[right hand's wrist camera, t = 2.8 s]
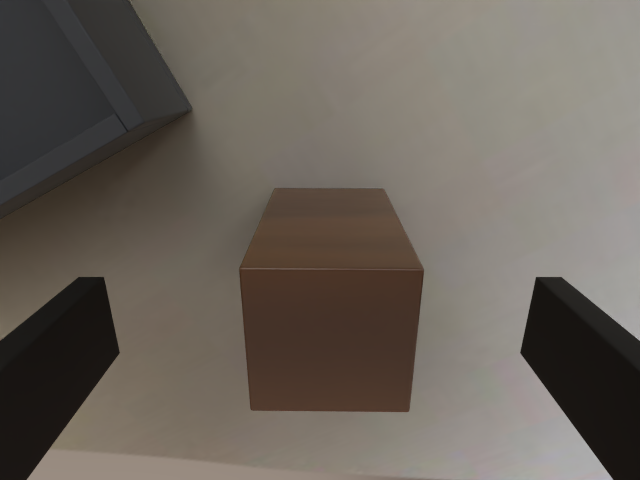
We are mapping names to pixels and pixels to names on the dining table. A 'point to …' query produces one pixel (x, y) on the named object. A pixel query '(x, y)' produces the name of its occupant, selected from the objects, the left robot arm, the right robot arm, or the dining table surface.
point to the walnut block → (330, 303)
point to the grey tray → (74, 91)
